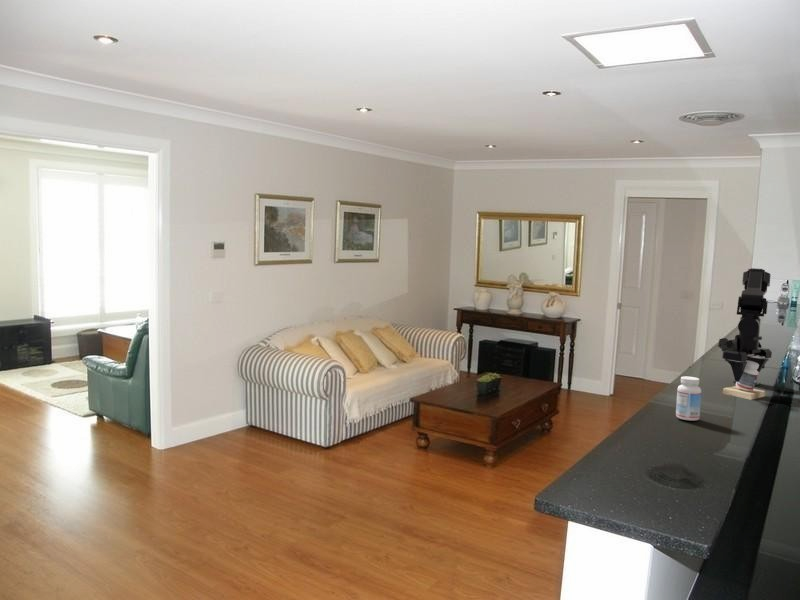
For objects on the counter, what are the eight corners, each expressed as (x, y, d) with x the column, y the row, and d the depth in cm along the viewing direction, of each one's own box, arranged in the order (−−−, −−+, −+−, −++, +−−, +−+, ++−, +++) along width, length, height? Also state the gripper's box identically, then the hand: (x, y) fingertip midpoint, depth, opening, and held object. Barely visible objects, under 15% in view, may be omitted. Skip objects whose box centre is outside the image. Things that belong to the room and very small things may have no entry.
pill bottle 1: (698, 416, 177) (701, 377, 176) (700, 422, 171) (703, 381, 170) (674, 414, 179) (677, 374, 178) (676, 419, 173) (679, 378, 172)
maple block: (736, 393, 213) (737, 385, 212) (764, 398, 205) (765, 391, 205) (722, 395, 208) (723, 388, 207) (750, 402, 200) (751, 394, 200)
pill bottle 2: (754, 393, 203) (763, 367, 201) (736, 388, 204) (745, 363, 202) (751, 387, 208) (759, 362, 205) (733, 383, 209) (742, 358, 207)
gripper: (740, 328, 216) (736, 373, 218) (708, 330, 206) (704, 377, 208) (774, 332, 207) (770, 379, 208) (742, 335, 197) (738, 384, 198)
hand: (745, 380), depth 206 cm, fingers open, 9 cm apart
